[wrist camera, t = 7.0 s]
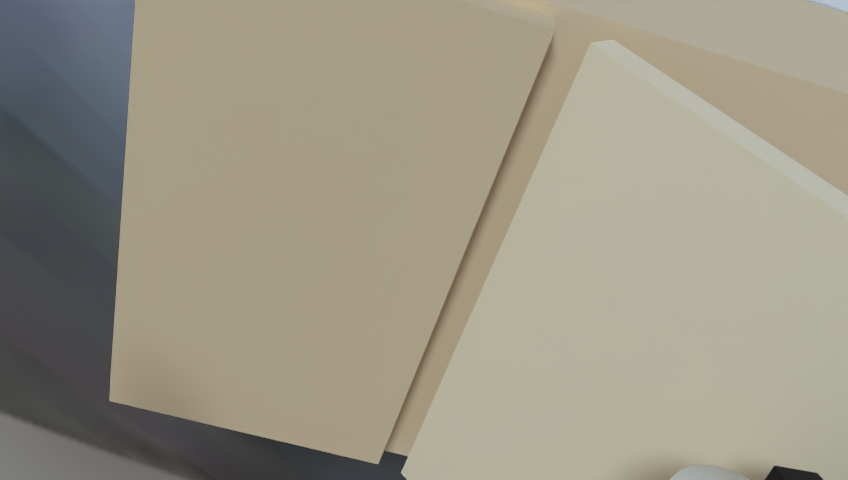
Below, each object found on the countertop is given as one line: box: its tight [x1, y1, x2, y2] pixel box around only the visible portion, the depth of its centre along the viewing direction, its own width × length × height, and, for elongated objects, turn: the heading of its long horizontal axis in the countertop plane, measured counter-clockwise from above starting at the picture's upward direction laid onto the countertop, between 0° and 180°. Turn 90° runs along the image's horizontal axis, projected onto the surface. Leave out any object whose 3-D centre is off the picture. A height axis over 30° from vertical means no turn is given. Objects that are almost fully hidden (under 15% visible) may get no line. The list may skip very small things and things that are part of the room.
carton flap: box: [401, 39, 848, 480], centre depth 14 cm, size 7×12×4 cm
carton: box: [109, 0, 848, 464], centre depth 19 cm, size 15×12×6 cm
